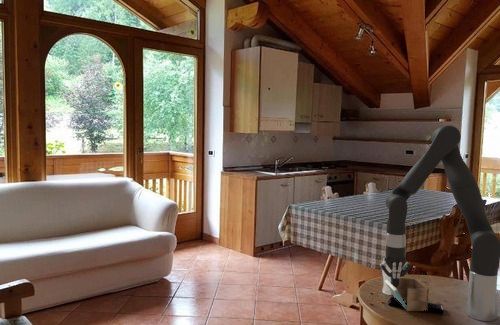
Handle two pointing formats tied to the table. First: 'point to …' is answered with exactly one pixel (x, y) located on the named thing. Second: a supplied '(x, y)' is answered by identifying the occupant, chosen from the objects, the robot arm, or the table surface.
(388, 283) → the teal panel
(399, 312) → the table surface
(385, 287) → the beer glass
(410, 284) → the crate
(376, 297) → the table surface
